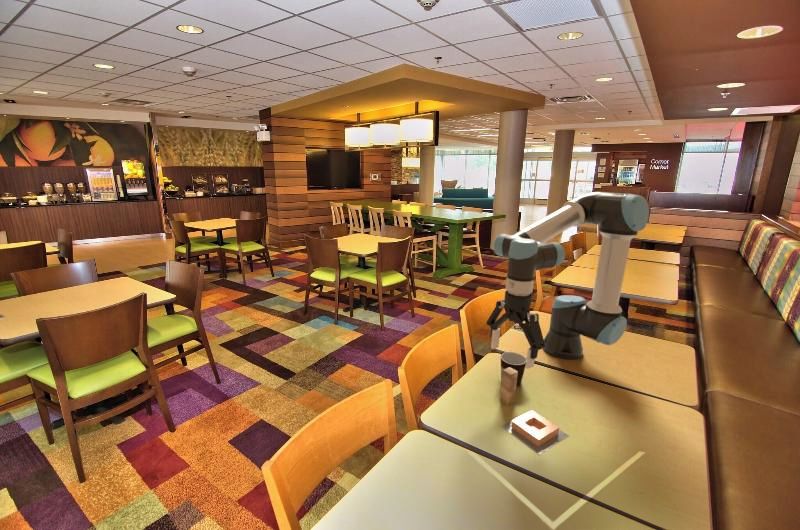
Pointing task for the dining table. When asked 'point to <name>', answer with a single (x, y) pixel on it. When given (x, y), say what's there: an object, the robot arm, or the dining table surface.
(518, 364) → the coffee mug
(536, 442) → the orange square frame
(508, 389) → the brown wooden block
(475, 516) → the dining table surface
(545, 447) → the plate
